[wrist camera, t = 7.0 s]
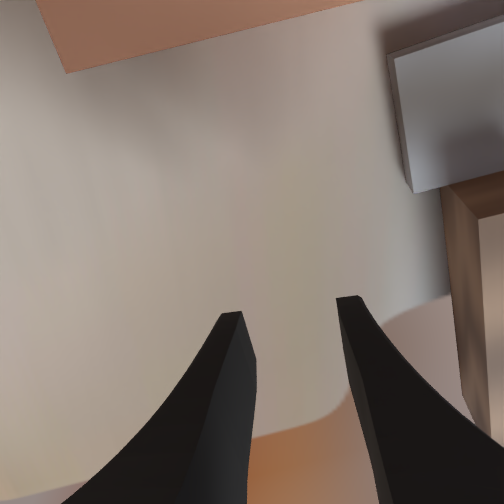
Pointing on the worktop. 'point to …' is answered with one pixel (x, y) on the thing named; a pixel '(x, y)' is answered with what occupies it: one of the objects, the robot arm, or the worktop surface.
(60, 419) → the worktop surface
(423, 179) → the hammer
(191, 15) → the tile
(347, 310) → the robot arm
